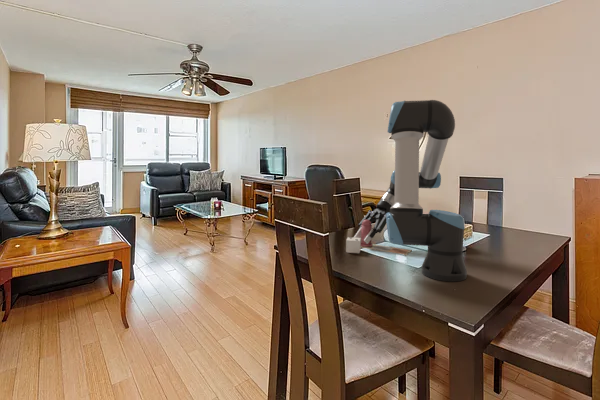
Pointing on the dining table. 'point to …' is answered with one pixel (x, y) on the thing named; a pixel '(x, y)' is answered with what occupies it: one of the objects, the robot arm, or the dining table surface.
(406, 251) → the game board
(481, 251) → the dining table surface
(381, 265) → the dining table surface
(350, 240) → the die
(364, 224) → the dildo
